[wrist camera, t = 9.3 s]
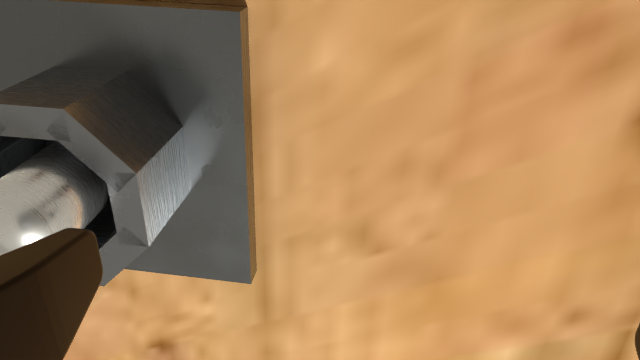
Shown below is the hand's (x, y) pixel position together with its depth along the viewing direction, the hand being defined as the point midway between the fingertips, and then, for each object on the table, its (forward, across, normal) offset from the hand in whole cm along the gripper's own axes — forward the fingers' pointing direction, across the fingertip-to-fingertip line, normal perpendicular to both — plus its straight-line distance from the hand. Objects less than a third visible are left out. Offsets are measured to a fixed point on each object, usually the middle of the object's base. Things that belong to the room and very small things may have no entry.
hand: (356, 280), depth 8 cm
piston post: (+12, +11, +4) cm, 17 cm away
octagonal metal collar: (+11, +11, +4) cm, 16 cm away
